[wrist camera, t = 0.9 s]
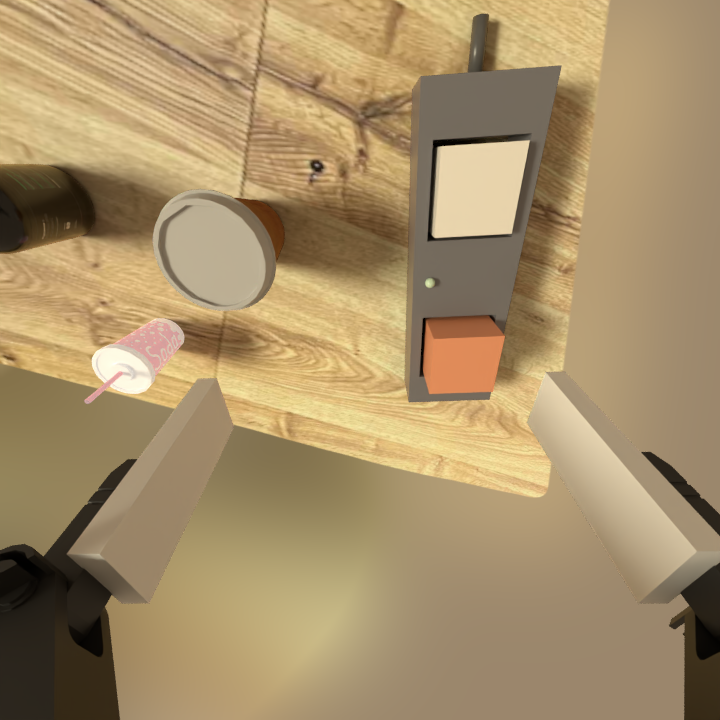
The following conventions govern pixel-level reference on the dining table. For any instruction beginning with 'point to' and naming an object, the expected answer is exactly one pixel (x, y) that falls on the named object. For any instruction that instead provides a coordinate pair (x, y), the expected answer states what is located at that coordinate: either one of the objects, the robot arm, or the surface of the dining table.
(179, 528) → the robot arm
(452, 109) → the push button control box
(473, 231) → the button ivory
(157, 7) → the dining table surface
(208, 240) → the disposable coffee cup
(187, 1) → the dining table surface
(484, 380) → the button orange
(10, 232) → the supplement bottle
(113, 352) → the beverage cup
